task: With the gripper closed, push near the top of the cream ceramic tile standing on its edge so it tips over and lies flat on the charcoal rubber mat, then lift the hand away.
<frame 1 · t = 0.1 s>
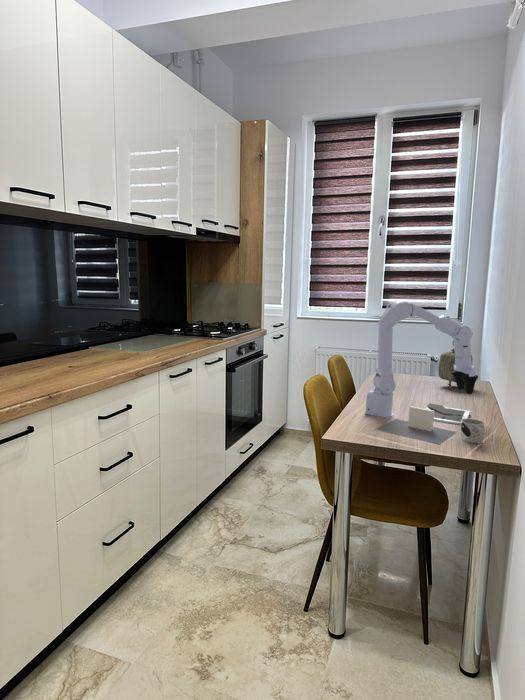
hand: (465, 391, 183), 11 cm above the table, tool pointing down, fingers open, 7 cm apart
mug: (473, 443, 155), on the table
tabletop clock: (452, 387, 242), on the table
picture frame: (445, 419, 185), on the table
mat: (415, 432, 164), on the table
tile: (420, 428, 167), point 1 cm above the table, touching mat
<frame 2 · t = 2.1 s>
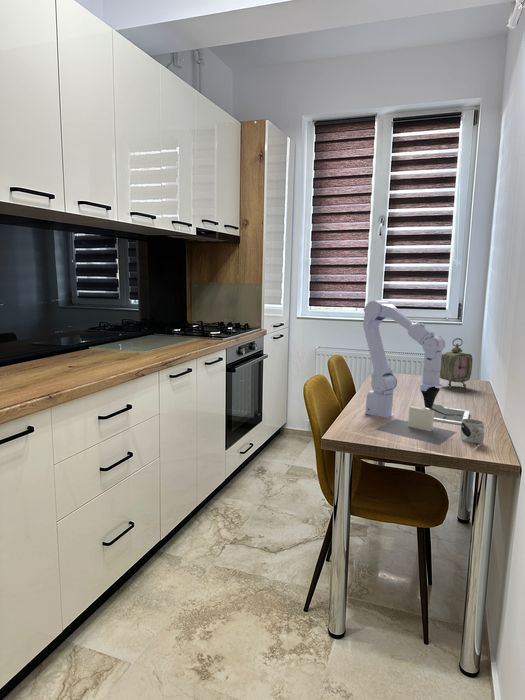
hand: (428, 407, 171), 7 cm above the table, tool pointing down, fingers closed
nothing on the table moved.
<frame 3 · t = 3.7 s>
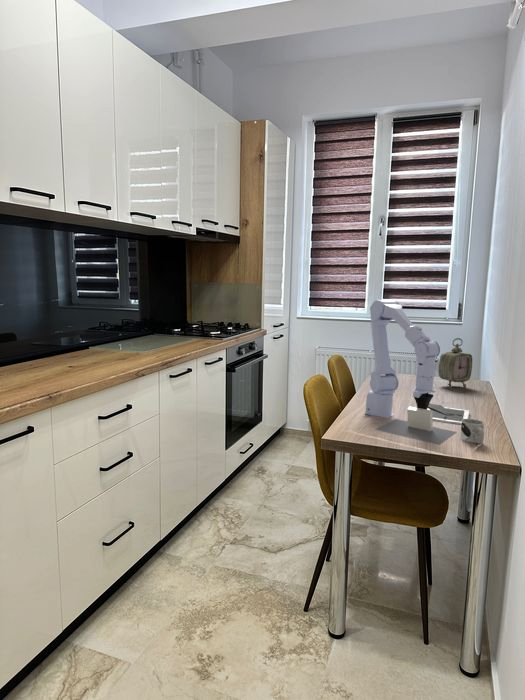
hand: (421, 414, 166), 6 cm above the table, tool pointing down, fingers closed
tile: (420, 427, 167), point 1 cm above the table, tilted 17°, touching gripper, mat
everything else where it was.
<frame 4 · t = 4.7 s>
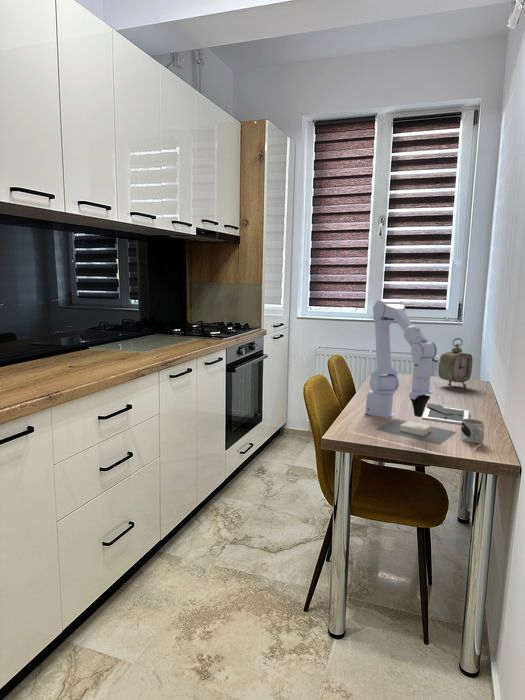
hand: (418, 416, 164), 6 cm above the table, tool pointing down, fingers closed
tile: (419, 426, 166), point 2 cm above the table, tilted 90°, touching mat
everything else where it was.
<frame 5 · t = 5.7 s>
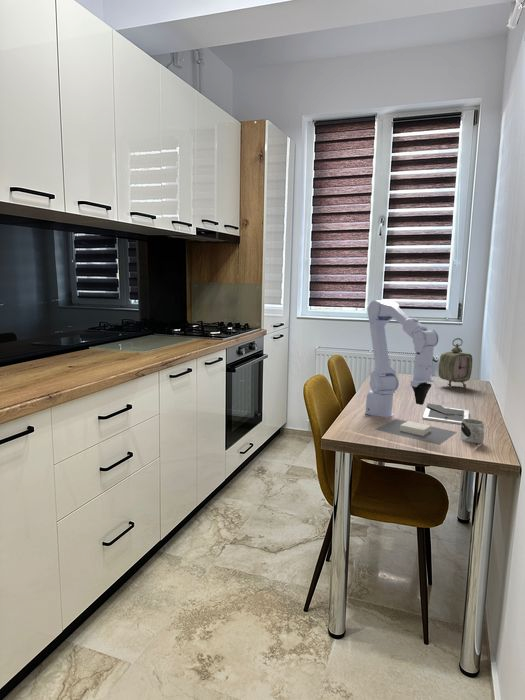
hand: (419, 404, 165), 9 cm above the table, tool pointing down, fingers closed
nothing on the table moved.
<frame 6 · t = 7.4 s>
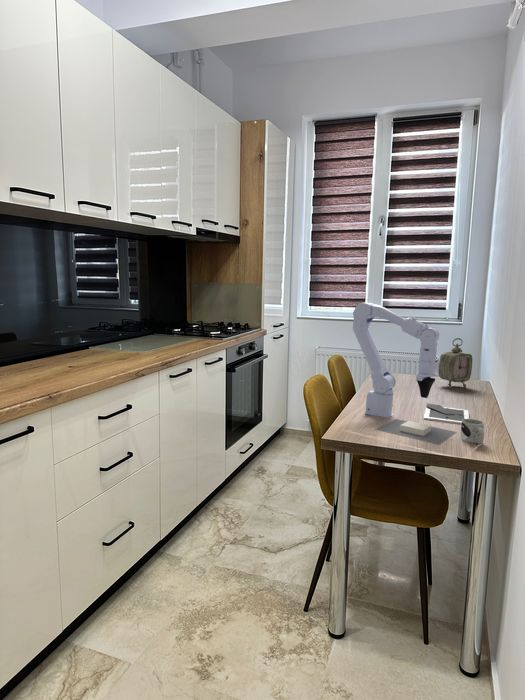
hand: (424, 397, 175), 9 cm above the table, tool pointing down, fingers closed
at the end: tile tilted 90°; tile touching mat; tile inside the target area (0.4 cm from its centre), point 1.6 cm above the table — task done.
